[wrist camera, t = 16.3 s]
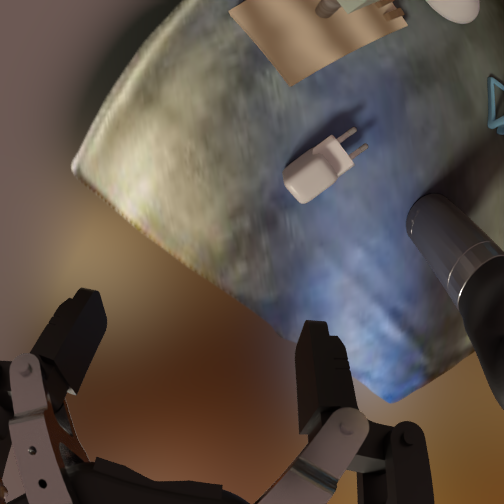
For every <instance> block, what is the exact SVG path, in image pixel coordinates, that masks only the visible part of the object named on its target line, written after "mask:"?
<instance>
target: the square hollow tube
mask: <svg viewBox="0 0 504 504" xmlns="http://www.w3.org/2000/svg"><path fill="white" fill-rule="evenodd" d="M337 1H338V2H339V4H340V5H341V6H342V7H343V9H344V10H345V11H346V12H347V14H349V13H352V12H354V11H356V10H358V9H361V8H363V7H365V6H368V5H370V4H372V3H375V2H377V1H380V0H337Z"/></svg>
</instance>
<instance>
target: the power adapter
mask: <svg viewBox="0 0 504 504" xmlns="http://www.w3.org/2000/svg"><path fill="white" fill-rule="evenodd" d="M356 131H357V129H356V127H352V128H351V129H349V130H348V131H347V132H346V133H344V134H343V135H341V136H340V137H338V138H337V139H336V138H335V137H334V136H333V135H330V136H329V137H328V138H326V139H325V140H324V141H322V142H321V143H320V144H318V145H317V146H316V147H313V148H311V149H309V150H308V151H306V152H305V153H304V154H302V155H301V156H300V157H298V158H297V159H296V160H295V161H293V162H292V163H291V164H289V165H288V166H287V167H286V168H285V169H284V170H283V172H282V174H283V180H284V184H285V186H286V188H287V189H288V190H289V191H290V193H291V194H292V195H293V196H294V197H295V198H296V199H297V200H298V201H299V202H300V203H302V204H304V203H307V202H309V201H310V200H312V199H313V198H315V197H316V196H317V195H319V194H320V193H321V192H323V191H324V190H325V189H327V188H328V187H329V186H331V185H332V184H333V183H334V182H335V181H336V180H337V178H338V177H339V176H341V175H342V174H343V173H345V172H346V171H347V170H349V169H350V168H351V167H353V166H354V163H353V161H352V159H354V158H355V157H356V156H357V155H359V154H360V153H362V152H363V151H365V150H366V149H367V148H368V144H366V143H365V144H363V145H362V146H360V147H359V148H358V149H357V150H355V151H354V152H353V153H351V154H349V155H348V154H347V153H346V152H345V150H344V149H343V148H342V146H341V145H340V143H341V142H343V141H344V140H345V139H346V138H348V137H349V136H351V135H352V134H354V133H355V132H356Z"/></svg>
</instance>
